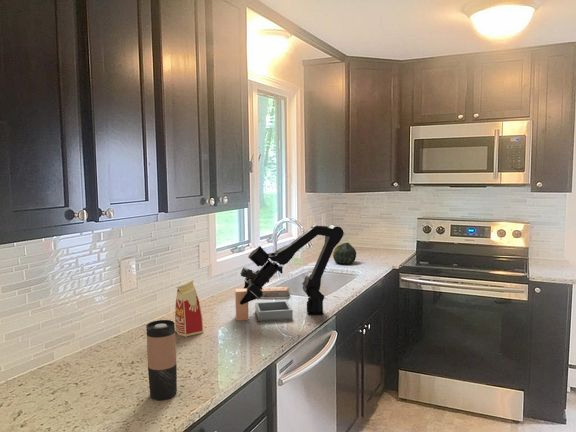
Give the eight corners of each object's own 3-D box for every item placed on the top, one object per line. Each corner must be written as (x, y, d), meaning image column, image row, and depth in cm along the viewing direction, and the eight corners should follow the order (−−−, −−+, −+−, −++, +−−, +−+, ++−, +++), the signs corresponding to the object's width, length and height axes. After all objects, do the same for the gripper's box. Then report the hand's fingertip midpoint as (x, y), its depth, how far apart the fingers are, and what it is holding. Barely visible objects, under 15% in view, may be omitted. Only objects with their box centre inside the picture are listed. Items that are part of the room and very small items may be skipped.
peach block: (247, 316, 200) (246, 288, 199) (248, 319, 195) (247, 291, 194) (235, 316, 199) (235, 288, 198) (236, 320, 194) (235, 291, 193)
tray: (286, 309, 208) (286, 300, 208) (292, 319, 194) (292, 310, 194) (255, 311, 206) (255, 302, 205) (258, 321, 192) (258, 312, 191)
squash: (332, 252, 318) (334, 238, 306) (354, 253, 317) (357, 239, 306) (333, 270, 308) (335, 255, 297) (355, 270, 308) (358, 256, 297)
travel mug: (180, 388, 134) (178, 319, 132) (173, 401, 126) (170, 328, 124) (154, 388, 134) (151, 319, 132) (145, 401, 127) (141, 328, 125)
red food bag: (194, 326, 188) (192, 277, 186) (204, 332, 180) (203, 281, 178) (172, 331, 182) (170, 280, 180) (182, 337, 175) (180, 284, 173)
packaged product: (289, 284, 235) (289, 290, 225) (290, 294, 235) (289, 299, 226) (254, 285, 236) (251, 290, 226) (254, 294, 236) (251, 300, 226)
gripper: (249, 256, 205) (224, 283, 204) (254, 265, 186) (226, 294, 185) (268, 273, 207) (243, 299, 206) (273, 283, 188) (246, 312, 188)
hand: (239, 301), depth 196 cm, fingers open, 9 cm apart
